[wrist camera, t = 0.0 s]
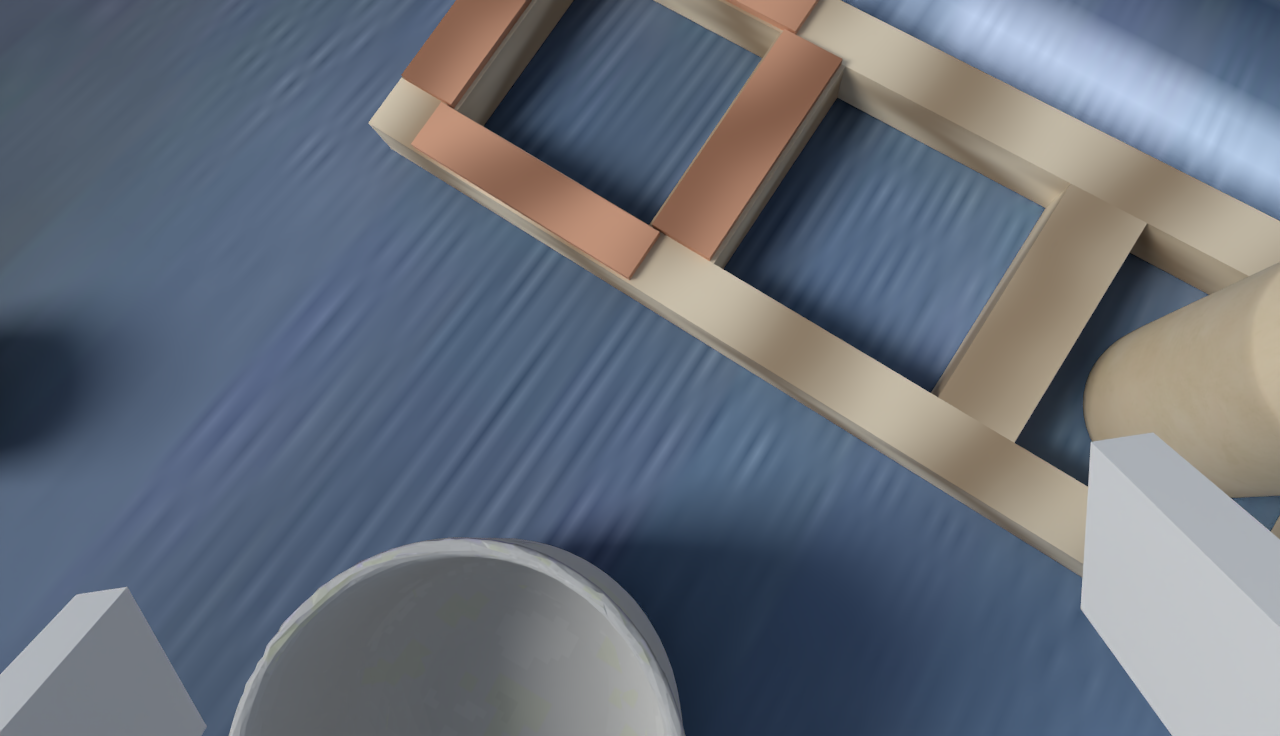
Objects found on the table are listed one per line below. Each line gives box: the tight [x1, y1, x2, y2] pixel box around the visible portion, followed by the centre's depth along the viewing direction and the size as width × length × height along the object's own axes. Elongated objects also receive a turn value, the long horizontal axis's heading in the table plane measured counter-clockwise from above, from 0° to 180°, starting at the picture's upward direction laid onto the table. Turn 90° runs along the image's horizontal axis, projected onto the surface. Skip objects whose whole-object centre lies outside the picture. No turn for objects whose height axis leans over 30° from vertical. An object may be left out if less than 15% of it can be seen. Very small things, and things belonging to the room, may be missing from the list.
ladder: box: [369, 0, 1280, 578], centre depth 26 cm, size 34×12×2 cm, turn 56°
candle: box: [1083, 262, 1280, 498], centre depth 20 cm, size 6×6×10 cm
